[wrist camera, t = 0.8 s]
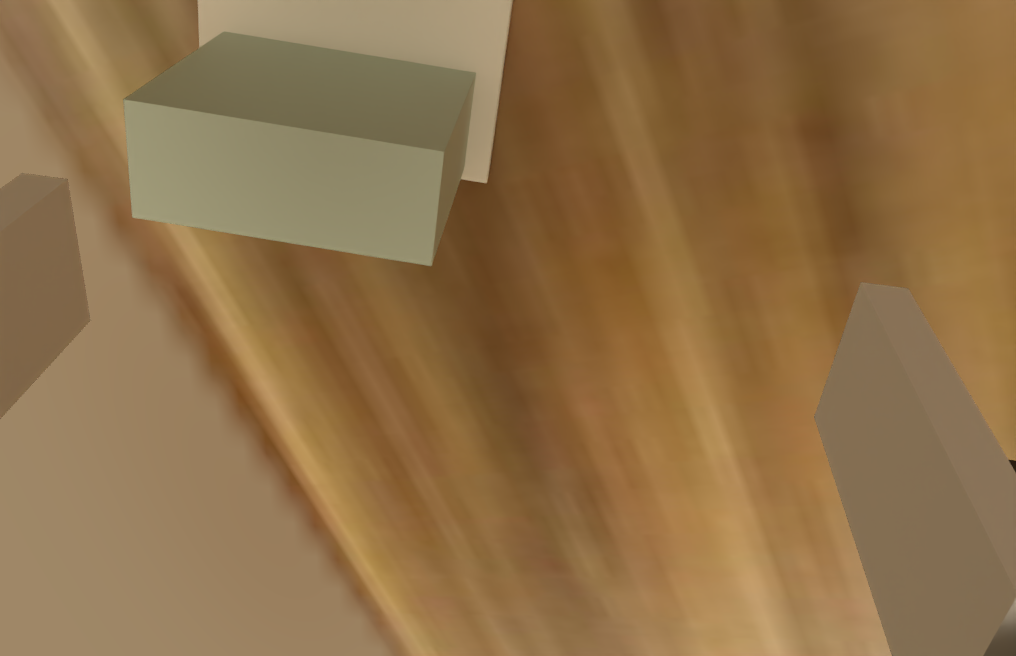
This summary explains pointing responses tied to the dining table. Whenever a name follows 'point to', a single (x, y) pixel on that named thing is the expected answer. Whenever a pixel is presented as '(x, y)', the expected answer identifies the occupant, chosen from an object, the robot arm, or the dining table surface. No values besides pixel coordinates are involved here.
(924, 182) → the dining table surface
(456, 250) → the dining table surface
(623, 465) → the dining table surface
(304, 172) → the cream plate with blocks
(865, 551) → the robot arm
